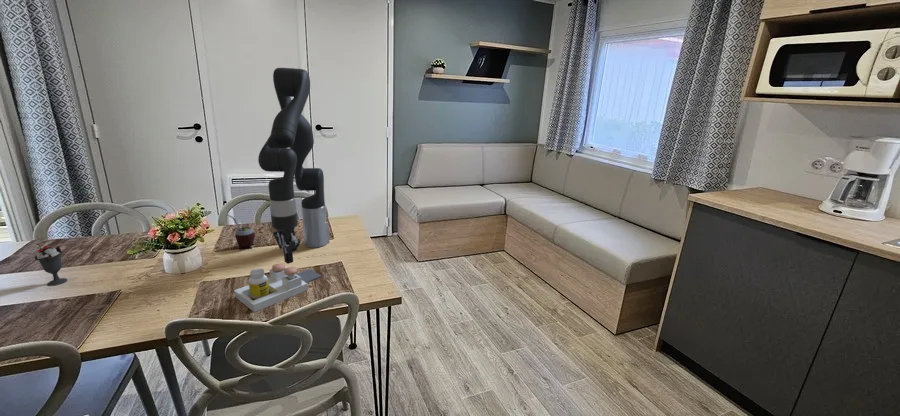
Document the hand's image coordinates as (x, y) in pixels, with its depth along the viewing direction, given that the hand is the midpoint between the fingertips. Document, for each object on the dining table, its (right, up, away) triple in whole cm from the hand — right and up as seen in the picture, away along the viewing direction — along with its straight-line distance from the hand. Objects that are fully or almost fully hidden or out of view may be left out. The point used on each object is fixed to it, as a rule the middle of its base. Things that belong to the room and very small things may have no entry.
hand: (289, 262), depth 127 cm
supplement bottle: (-9, -12, -1) cm, 15 cm away
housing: (-6, -11, +2) cm, 13 cm away
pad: (0, -7, +13) cm, 15 cm away
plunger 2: (0, -6, +2) cm, 7 cm away
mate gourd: (-33, +1, +36) cm, 49 cm away
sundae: (-80, -8, +5) cm, 81 cm away
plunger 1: (-6, -6, +7) cm, 11 cm away
